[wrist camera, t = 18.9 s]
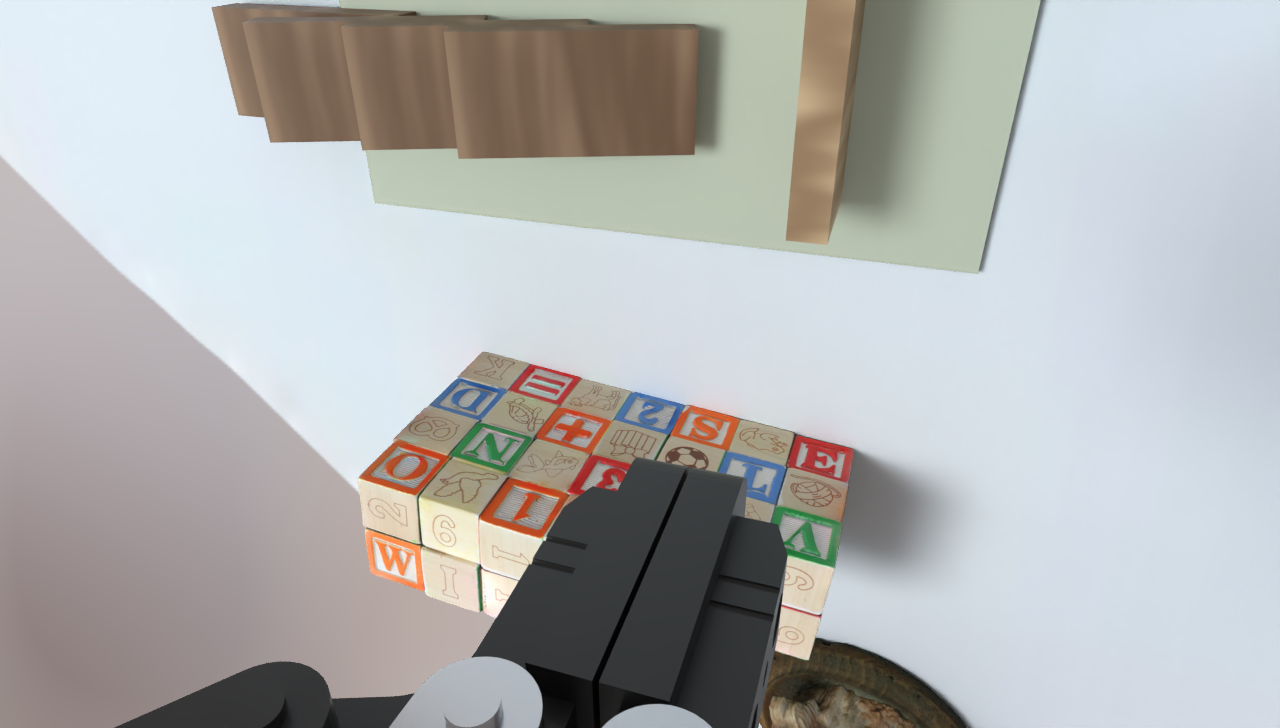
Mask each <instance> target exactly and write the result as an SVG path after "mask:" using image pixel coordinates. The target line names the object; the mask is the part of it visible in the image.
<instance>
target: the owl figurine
mask: <svg viewBox="0 0 1280 728" xmlns="http://www.w3.org/2000/svg"><path fill="white" fill-rule="evenodd" d="M829 645H830V646H827V645H823V644H822V641H821V640H818V639H815V641H814V644H813V648H812V651H811V654H810V658H809V660H803V659H800V658H797V657H794V656H791V655H787V654H783V653H780V652H778V651H775V652H774V657H773V661H772V666H771V670H770V674H769V680H768V684H767V689H766V693H765V698H764V701H763V707H762V712H761V716H760V721H759V722H760V724H761V725H762V728H966V726H965V724H964V723H963V721H962V720H961V719H960V718H959V717H958V716H957V714H956V713H955V712H954V711H953V710H952V709H951V708H950V707H949V706H947V705H946V704H945V703H944V702H943V701H942V700H941V699H940V698H939V697H938V696H937V695H936V694H935V693H934V692H933V691H932V690H931V689H929V688H928V687H927V686H926V685H925V684H924V683H922V682H921V681H919V680H917V679H916V678H914V677H913V676H911V675H910V674H909V673H907V672H905V671H903V670H902V669H900V668H899V667H897V666H896V665H894V664H893V663H891V662H889V661H887V660H885V659H883V658H881V657H879V656H877V655H875V654H872V653H870V652H868V651H865V650H862V649H858V648H856V647H853V646H849V645H846V644H840V643H830V644H829Z"/></svg>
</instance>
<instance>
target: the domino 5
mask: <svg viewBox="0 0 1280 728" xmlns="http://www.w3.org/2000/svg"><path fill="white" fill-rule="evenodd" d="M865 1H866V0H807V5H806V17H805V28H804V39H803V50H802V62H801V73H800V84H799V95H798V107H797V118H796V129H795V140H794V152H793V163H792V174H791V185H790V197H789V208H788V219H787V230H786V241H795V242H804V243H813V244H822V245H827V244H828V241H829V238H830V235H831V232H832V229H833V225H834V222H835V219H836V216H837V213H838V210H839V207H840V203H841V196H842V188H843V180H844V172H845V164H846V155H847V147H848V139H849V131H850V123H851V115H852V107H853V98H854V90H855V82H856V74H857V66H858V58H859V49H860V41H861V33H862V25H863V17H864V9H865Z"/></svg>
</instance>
